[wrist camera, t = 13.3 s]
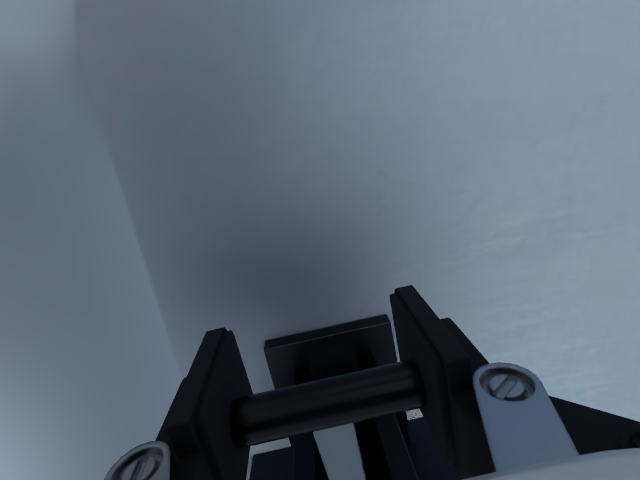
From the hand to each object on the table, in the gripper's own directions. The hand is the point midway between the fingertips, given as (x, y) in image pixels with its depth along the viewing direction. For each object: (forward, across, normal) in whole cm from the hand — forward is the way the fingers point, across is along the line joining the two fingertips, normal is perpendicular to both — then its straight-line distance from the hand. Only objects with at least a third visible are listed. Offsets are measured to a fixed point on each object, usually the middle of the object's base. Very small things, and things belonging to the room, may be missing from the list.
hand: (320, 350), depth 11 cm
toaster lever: (0, 0, +5) cm, 5 cm away
